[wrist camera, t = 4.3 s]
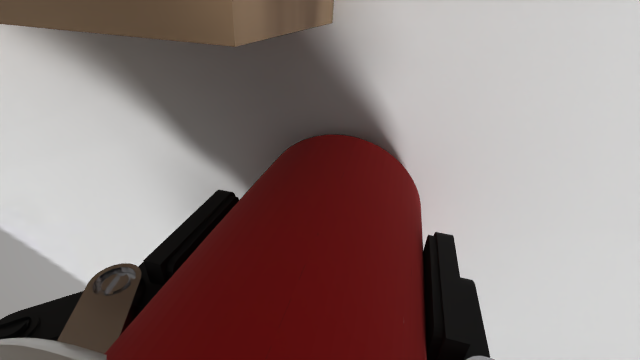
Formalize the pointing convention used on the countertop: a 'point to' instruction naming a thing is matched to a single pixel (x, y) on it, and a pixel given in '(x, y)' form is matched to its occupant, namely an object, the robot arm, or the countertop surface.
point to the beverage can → (300, 268)
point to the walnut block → (173, 18)
